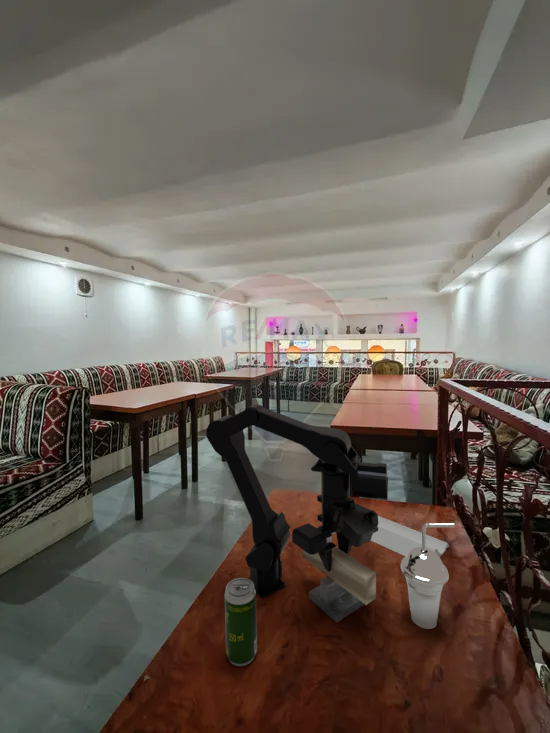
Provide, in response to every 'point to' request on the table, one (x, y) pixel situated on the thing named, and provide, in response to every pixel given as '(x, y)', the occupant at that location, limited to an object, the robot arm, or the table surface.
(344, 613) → the fulcrum
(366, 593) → the batten
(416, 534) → the crown molding
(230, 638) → the beer can
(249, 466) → the robot arm
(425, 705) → the table surface
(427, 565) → the cup with straw
